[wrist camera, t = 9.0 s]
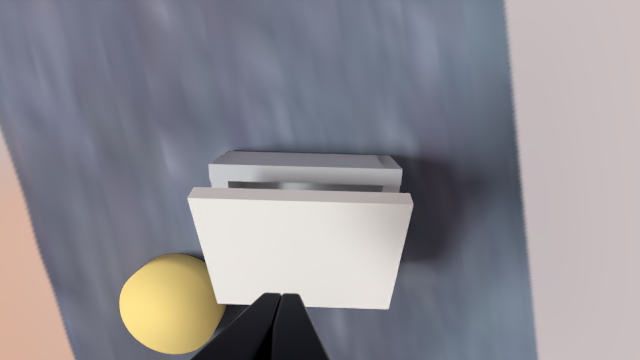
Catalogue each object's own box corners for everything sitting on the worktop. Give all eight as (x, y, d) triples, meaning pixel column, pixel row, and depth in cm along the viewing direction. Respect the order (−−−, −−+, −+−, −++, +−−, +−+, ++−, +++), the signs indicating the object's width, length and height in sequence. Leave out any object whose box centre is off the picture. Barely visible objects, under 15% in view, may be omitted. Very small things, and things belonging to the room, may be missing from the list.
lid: (386, 297, 17) (388, 309, 16) (221, 291, 17) (217, 303, 16) (409, 193, 13) (413, 204, 12) (193, 187, 13) (187, 198, 12)
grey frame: (379, 266, 20) (389, 299, 17) (235, 262, 20) (218, 293, 17) (389, 155, 18) (402, 169, 15) (228, 151, 18) (208, 164, 15)
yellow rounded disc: (159, 345, 22) (146, 364, 20) (119, 268, 21) (102, 282, 19) (240, 322, 21) (233, 339, 20) (203, 241, 20) (192, 252, 18)
